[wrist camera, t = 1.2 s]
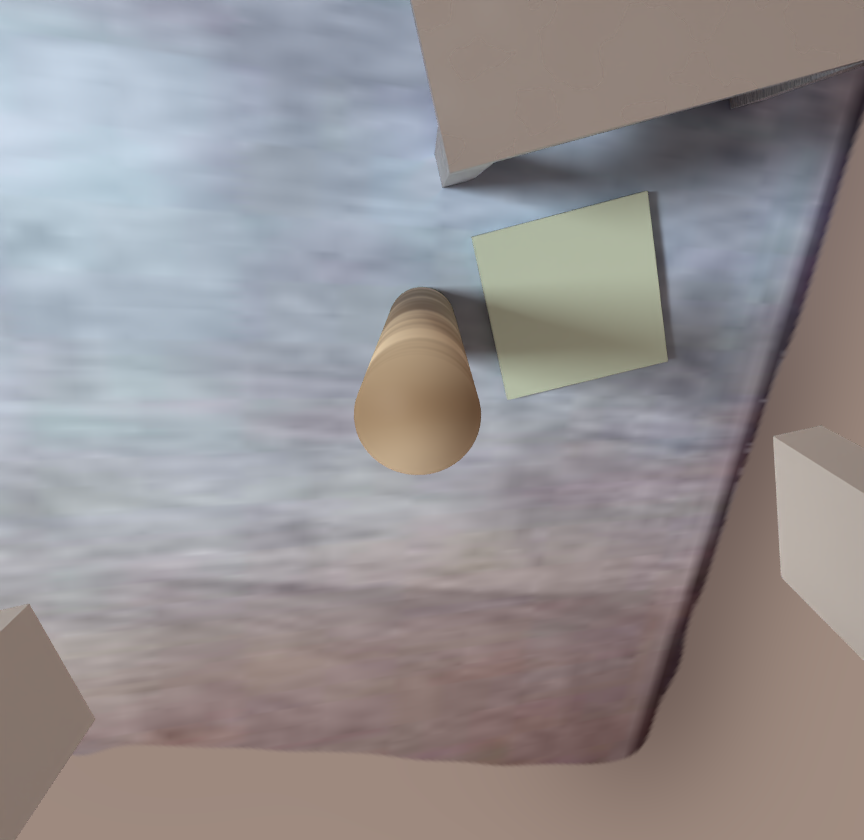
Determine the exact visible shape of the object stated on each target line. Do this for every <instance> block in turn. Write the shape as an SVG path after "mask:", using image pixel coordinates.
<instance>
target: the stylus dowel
mask: <svg viewBox="0 0 864 840" xmlns="http://www.w3.org/2000/svg"><path fill="white" fill-rule="evenodd" d="M354 421H355V427H356V431H357V434H358V436H359V439H360V441H361V443H362V444H363V446H364V447H365V449H366V450H367V452H368V453H369V454H370V455H371V456H372V457H373V458H374V459H375V460H377V461H378V462H379V463H381V464H382V465H384V466H386V467H387V468H390V469H392V470H394V471H397V472H400V473H405V474H411V475H425V474H431V473H435V472H439V471H442V470H444V469H446V468H448V467H450V466H452V465H453V464H455V463H456V462H458V461H459V460H460V459H461V458H462V457H463V456H464V455H465V454H466V453H467V452H468V451H469V449H470V448H471V447H472V445H473V443H474V441H475V440H476V437H477V435H478V432H479V428H480V422H481V408H480V402H479V399H478V395H477V392H476V388H475V385H474V381H473V378H472V374H471V371H470V367H469V364H468V360H467V357H466V353H465V350H464V346H463V343H462V339H461V336H460V332H459V329H458V325H457V322H456V318H455V315H454V311H453V308H452V306H451V304H450V302H449V301H448V300H447V298H446V297H445V296H444V295H443V294H441V293H440V292H438V291H436V290H434V289H431V288H427V287H417V288H413V289H410V290H407V291H405V292H404V293H402V294H401V295H400V296H399V297H398V298H397V299H396V300H395V302H394V304H393V306H392V308H391V310H390V313H389V315H388V318H387V320H386V323H385V326H384V328H383V331H382V333H381V336H380V338H379V341H378V344H377V346H376V349H375V351H374V354H373V356H372V359H371V362H370V364H369V367H368V369H367V372H366V374H365V377H364V380H363V382H362V385H361V387H360V390H359V392H358V395H357V398H356V402H355V408H354Z"/></svg>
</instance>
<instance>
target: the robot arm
mask: <svg viewBox="0 0 864 840" xmlns="http://www.w3.org/2000/svg"><path fill="white" fill-rule="evenodd" d="M773 443H774V459H775V477H776V496H777V514H778V529H779V549H780V567H781V577H782V578H783V579H784V580H785V581H786V582H787V584H789V585H790V586H791V588H792V589H793V590H795V592H796V593H798V595H799V596H800V597H801V598H802V599H803V600H804V601H805V602H806V603H807V604H808V605H809V606H810V607H811V608H812V609H813V610H814V611H815V612H816V613H817V614H818V615H819V616H820V617H821V618H822V619H823V620H824V621H825V622H826V623H827V624H828V625H829V626H830V627H831V628H832V629H833V630H834V631H835V632H836V633H837V634H838V635H839V636H840V637H841V638H842V639H843V640H844V641H845V642H846V643H847V644H848V645H849V646H850V647H851V648H852V649H853V650H854V651H855V652H856V653H857V654H858V656H860V657H861V658H862V659H863V661H864V448H863V447H861V446H860V445H858V444H856V443H854V442H852V441H850V440H848V439H846V438H844V437H842V436H840V435H839V434H837V433H835V432H833V431H831V430H829V429H827V428H825V427H823V426H816V427H812V428H808V429H803V430H799V431H794V432H790V433H785V434H781V435H777V436H773ZM94 720H95V718H94V716H93V714H92V713H91V711H90V709H89V707H88V706H87V704H86V702H85V700H84V699H83V697H82V695H81V693H80V692H79V690H78V688H77V686H76V685H75V683H74V681H73V679H72V678H71V676H70V674H69V672H68V671H67V669H66V667H65V665H64V664H63V662H62V660H61V658H60V657H59V655H58V653H57V651H56V650H55V648H54V646H53V644H52V643H51V641H50V639H49V637H48V636H47V634H46V632H45V630H44V629H43V627H42V625H41V624H40V622H39V620H38V618H37V617H36V615H35V613H34V611H33V610H32V608H31V606H30V604H26V605H21V606H17V607H13V608H8V609H4V610H0V840H15V839H16V838H17V836H18V835H19V833H20V832H21V830H22V829H23V827H24V826H25V824H26V823H27V821H28V820H29V818H30V817H31V815H32V814H33V812H34V811H35V809H36V808H37V806H38V805H39V803H40V802H41V800H42V799H43V797H44V796H45V794H46V793H47V791H48V789H49V788H50V787H51V785H52V784H53V782H54V781H55V779H56V778H57V776H58V775H59V773H60V772H61V770H62V769H63V767H64V766H65V764H66V763H67V761H68V759H69V758H70V757H71V755H72V754H73V752H74V751H75V749H76V748H77V746H78V745H79V743H80V742H81V740H82V739H83V737H84V736H85V734H86V732H87V731H88V729H89V728H90V726H91V725H92V723H93V722H94Z"/></svg>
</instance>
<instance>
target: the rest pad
mask: <svg viewBox="0 0 864 840" xmlns="http://www.w3.org/2000/svg"><path fill="white" fill-rule="evenodd" d="M471 238H472V243H473V247H474V252H475V256H476V261H477V265H478V270H479V274H480V279H481V283H482V288H483V293H484V297H485V302H486V306H487V311H488V315H489V320H490V324H491V329H492V333H493V338H494V343H495V347H496V352H497V356H498V361H499V365H500V370H501V374H502V379H503V383H504V388H505V393H506V397H507V399H508V400H510V399H514V398H518V397H523V396H527V395H531V394H535V393H539V392H543V391H547V390H551V389H556V388H560V387H564V386H568V385H572V384H576V383H580V382H584V381H589V380H593V379H597V378H601V377H605V376H609V375H613V374H618V373H622V372H626V371H630V370H634V369H638V368H642V367H646V366H651V365H655V364H659V363H663V362H667V361H668V358H667V350H666V341H665V333H664V325H663V316H662V308H661V299H660V291H659V283H658V274H657V266H656V258H655V249H654V241H653V233H652V224H651V216H650V207H649V199H648V191H644V192H639V193H636V194H632V195H628V196H624V197H620V198H617V199H613V200H609V201H605V202H602V203H598V204H594V205H590V206H586V207H583V208H579V209H575V210H571V211H567V212H564V213H560V214H556V215H552V216H549V217H545V218H541V219H537V220H533V221H530V222H526V223H522V224H518V225H515V226H511V227H507V228H503V229H499V230H496V231H492V232H488V233H484V234H481V235H477V236H473V237H471Z"/></svg>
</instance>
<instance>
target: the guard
mask: <svg viewBox="0 0 864 840" xmlns="http://www.w3.org/2000/svg"><path fill="white" fill-rule="evenodd" d="M410 3H411V7H412V12H413V16H414V21H415V25H416V30H417V34H418V39H419V43H420V48H421V52H422V56H423V61H424V65H425V70H426V74H427V79H428V83H429V88H430V92H431V97H432V101H433V105H434V110H435V114H436V119H437V123H438V130H437V138H436V146H435V158H436V163H437V167H438V171H439V176H440V180H441V184H442V188H443V187H446V186H450V185H454V184H458V183H461V182H465V181H469V180H472V179H474V178H475V177H477V176H478V175H479V174H480V173H482V172H483V171H484V170H485V169H486V168H488V167H489V166H490V165H491V164H493V163H494V162H498V161H502V160H505V159H509V158H513V157H516V156H520V155H524V154H527V153H531V152H535V151H538V150H542V149H546V148H549V147H553V146H557V145H560V144H564V143H567V142H571V141H575V140H578V139H582V138H586V137H589V136H593V135H597V134H600V133H604V132H608V131H611V130H615V129H619V128H622V127H626V126H630V125H633V124H637V123H641V122H644V121H648V120H652V119H655V118H659V117H663V116H666V115H670V114H674V113H677V112H681V111H685V110H688V109H692V108H695V107H699V106H703V105H706V104H710V103H714V102H717V101H721V100H725V99H728V98H730V109H733V108H737V107H741V106H744V105H748V104H752V103H755V102H759V101H763V100H766V99H769V98H772V97H774V96H777V95H780V94H783V93H786V92H789V91H792V90H795V89H798V88H800V87H803V86H806V85H809V84H812V83H815V82H818V81H821V80H824V79H826V78H829V77H832V76H835V75H838V74H841V73H844V72H847V71H849V70H852V69H855V68H858V67H861V66H864V0H410Z"/></svg>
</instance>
